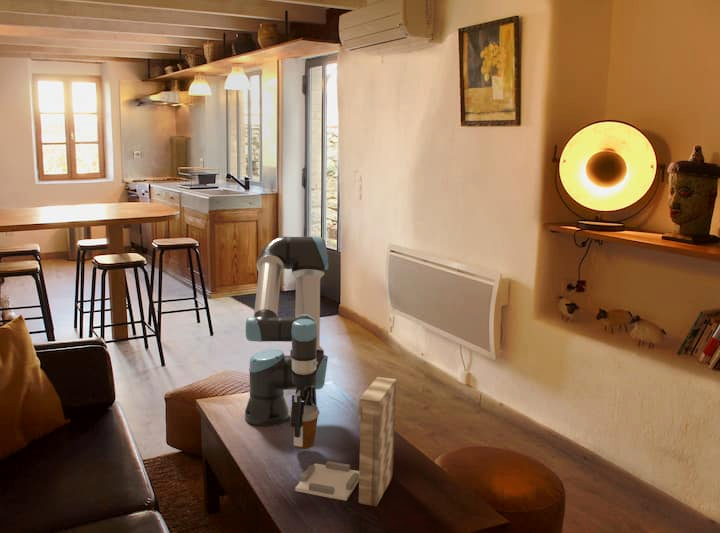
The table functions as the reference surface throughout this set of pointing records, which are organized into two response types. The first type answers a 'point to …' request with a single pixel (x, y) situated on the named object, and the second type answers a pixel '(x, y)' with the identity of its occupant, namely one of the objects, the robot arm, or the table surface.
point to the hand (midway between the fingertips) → (303, 439)
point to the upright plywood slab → (376, 439)
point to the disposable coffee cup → (308, 425)
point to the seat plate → (329, 480)
